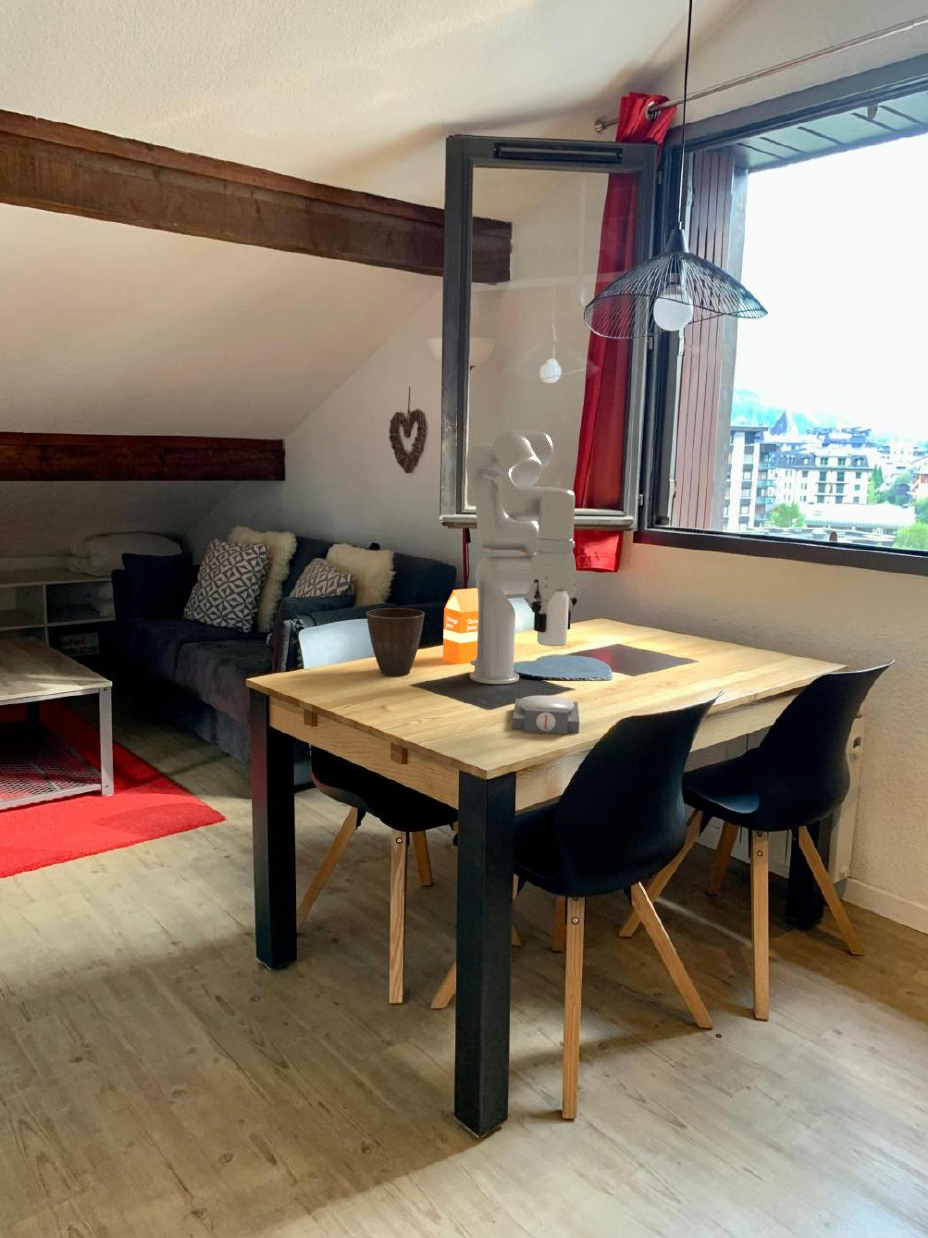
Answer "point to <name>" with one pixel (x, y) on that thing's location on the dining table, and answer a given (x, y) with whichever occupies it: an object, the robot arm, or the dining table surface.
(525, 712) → the scale
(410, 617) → the plant pot
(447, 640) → the orange juice
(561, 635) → the can
